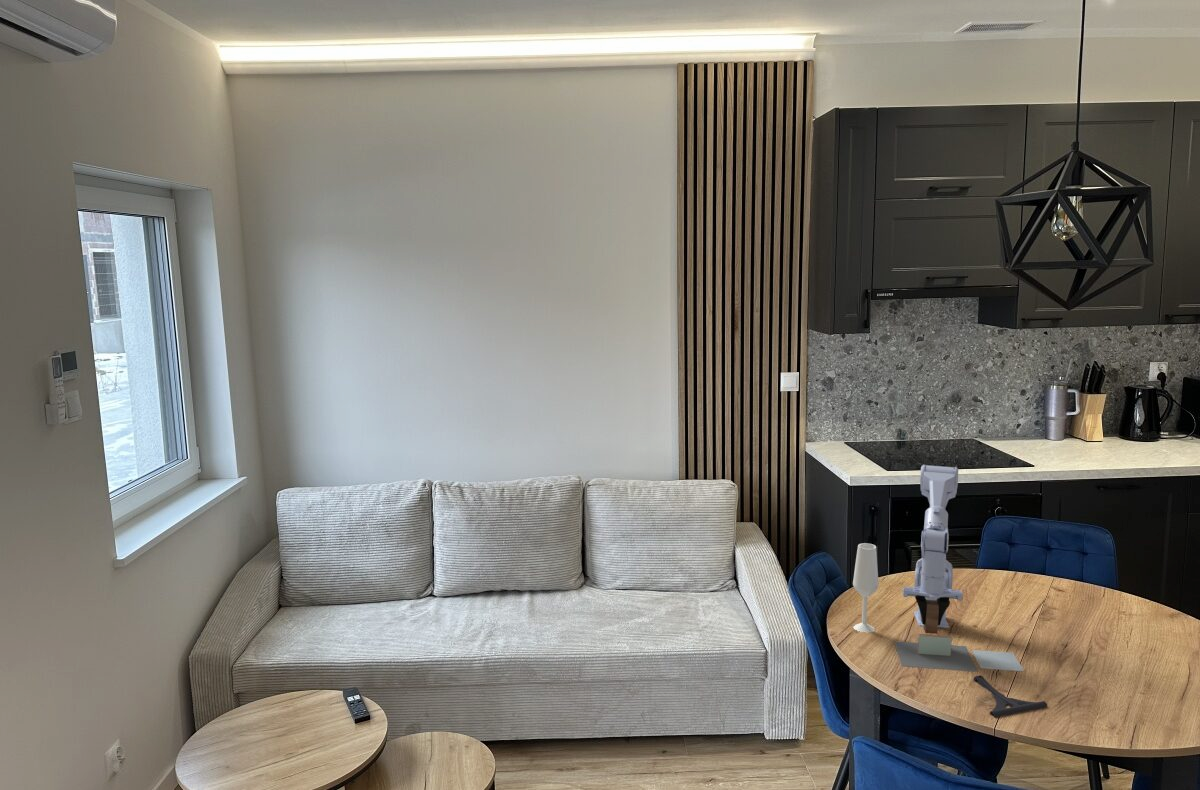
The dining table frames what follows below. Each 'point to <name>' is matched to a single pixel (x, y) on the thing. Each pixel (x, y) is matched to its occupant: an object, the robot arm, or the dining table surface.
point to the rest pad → (997, 660)
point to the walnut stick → (931, 617)
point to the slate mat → (935, 658)
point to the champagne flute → (865, 579)
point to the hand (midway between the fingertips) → (930, 623)
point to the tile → (934, 644)
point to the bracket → (1008, 701)
